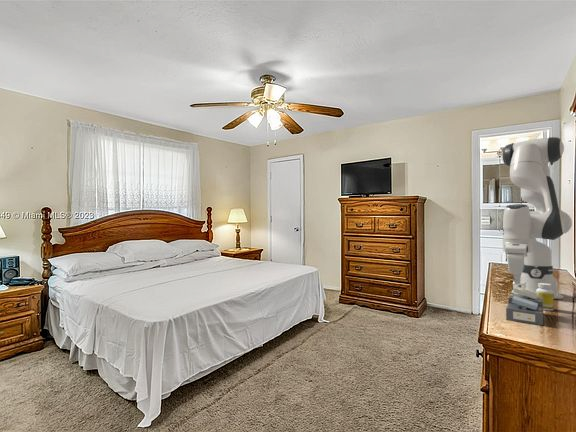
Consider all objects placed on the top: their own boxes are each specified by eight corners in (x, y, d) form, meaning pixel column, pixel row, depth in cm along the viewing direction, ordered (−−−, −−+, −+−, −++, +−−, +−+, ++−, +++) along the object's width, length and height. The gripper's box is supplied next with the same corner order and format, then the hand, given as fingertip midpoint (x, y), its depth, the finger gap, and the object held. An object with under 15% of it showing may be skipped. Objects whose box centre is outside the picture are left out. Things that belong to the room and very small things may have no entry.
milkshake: (529, 304, 132) (529, 280, 132) (513, 302, 135) (513, 279, 135) (527, 302, 136) (527, 278, 136) (512, 300, 139) (512, 277, 139)
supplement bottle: (557, 311, 122) (556, 285, 122) (540, 310, 123) (540, 285, 124) (548, 307, 128) (548, 282, 128) (533, 306, 129) (532, 282, 129)
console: (510, 308, 126) (510, 291, 126) (543, 313, 120) (542, 294, 120) (506, 319, 112) (506, 300, 112) (542, 325, 105) (542, 304, 105)
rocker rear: (514, 289, 124) (515, 285, 124) (536, 296, 120) (537, 293, 119) (513, 291, 119) (514, 288, 119) (536, 299, 115) (537, 295, 115)
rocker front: (512, 299, 117) (513, 295, 117) (536, 306, 112) (537, 303, 112) (511, 302, 112) (512, 298, 112) (536, 310, 108) (537, 306, 108)
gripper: (509, 245, 131) (509, 279, 131) (504, 248, 115) (504, 286, 115) (528, 245, 127) (528, 280, 127) (526, 249, 111) (526, 289, 111)
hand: (517, 283), depth 121 cm, fingers closed
